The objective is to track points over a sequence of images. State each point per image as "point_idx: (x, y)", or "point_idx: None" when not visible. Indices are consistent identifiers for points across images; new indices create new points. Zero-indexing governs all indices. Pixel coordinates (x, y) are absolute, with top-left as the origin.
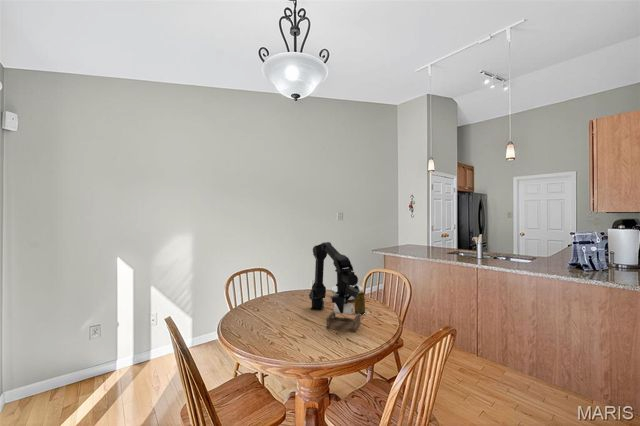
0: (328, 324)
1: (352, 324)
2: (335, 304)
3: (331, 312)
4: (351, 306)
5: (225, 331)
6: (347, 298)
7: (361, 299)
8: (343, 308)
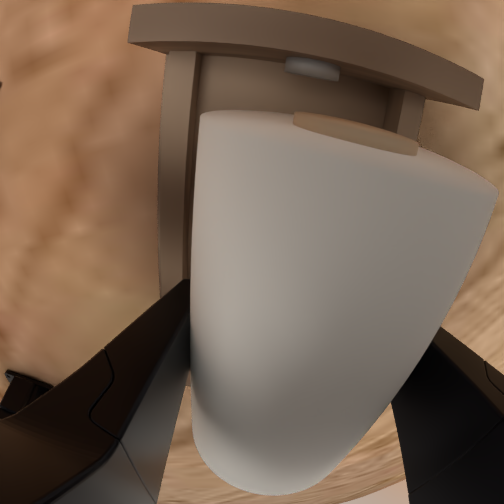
0: None
1: (270, 106)
2: (321, 479)
3: None
4: (457, 179)
5: (345, 500)
6: (95, 495)
7: None
8: (441, 346)
